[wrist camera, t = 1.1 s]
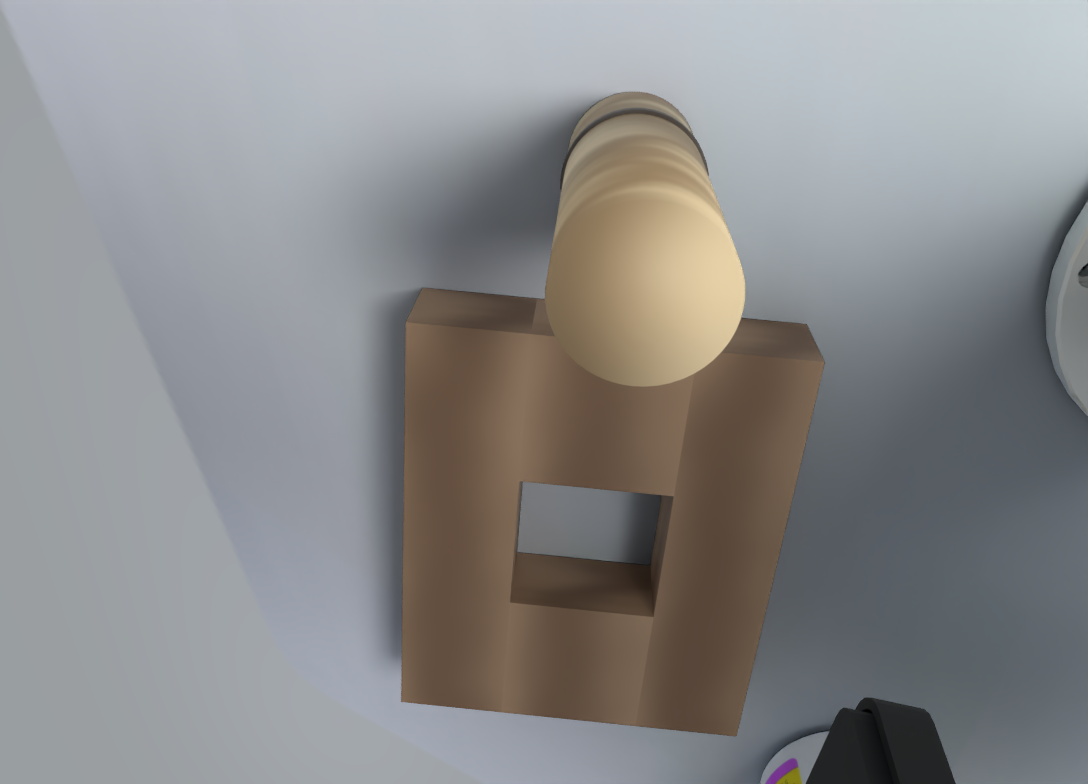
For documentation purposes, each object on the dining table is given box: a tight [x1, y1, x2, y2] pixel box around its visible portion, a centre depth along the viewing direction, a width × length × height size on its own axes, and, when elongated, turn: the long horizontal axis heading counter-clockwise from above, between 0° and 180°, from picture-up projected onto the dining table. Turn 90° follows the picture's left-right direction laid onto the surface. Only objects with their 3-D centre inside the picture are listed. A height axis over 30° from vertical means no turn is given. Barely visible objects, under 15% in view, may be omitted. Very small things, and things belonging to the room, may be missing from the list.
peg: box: [545, 92, 745, 387], centre depth 24 cm, size 4×4×12 cm
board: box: [401, 288, 825, 736], centre depth 34 cm, size 13×16×3 cm
